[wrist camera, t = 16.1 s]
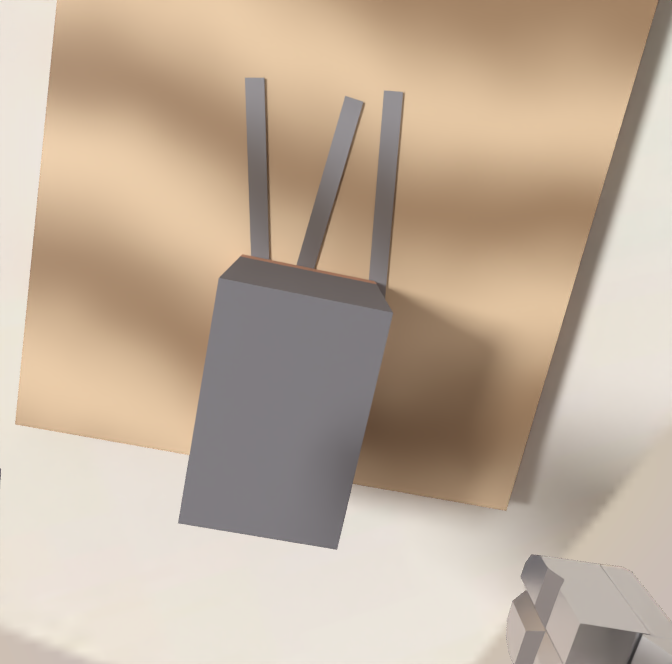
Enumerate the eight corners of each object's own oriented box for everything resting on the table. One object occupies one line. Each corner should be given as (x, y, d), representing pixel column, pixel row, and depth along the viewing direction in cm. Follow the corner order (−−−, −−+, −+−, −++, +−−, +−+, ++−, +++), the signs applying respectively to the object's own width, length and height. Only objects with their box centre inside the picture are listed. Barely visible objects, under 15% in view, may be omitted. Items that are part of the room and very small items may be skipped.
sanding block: (242, 254, 20) (218, 277, 15) (374, 281, 20) (392, 312, 15) (209, 446, 22) (177, 523, 17) (332, 467, 22) (337, 549, 17)
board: (104, -288, 18) (87, -325, 16) (679, -131, 19) (705, -154, 18) (31, 412, 22) (14, 425, 21) (496, 495, 24) (506, 511, 22)
